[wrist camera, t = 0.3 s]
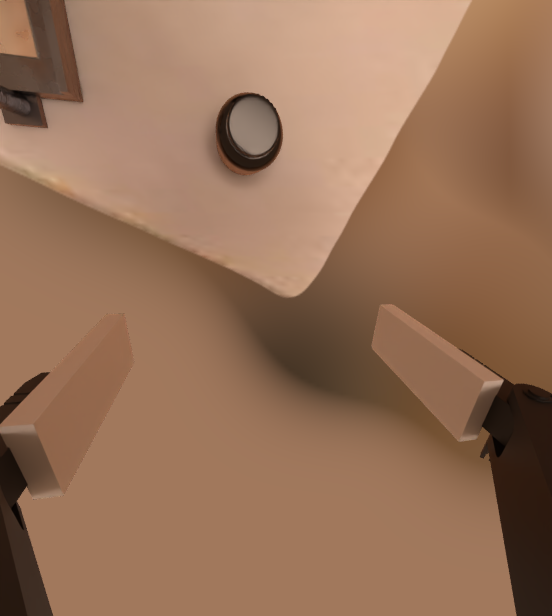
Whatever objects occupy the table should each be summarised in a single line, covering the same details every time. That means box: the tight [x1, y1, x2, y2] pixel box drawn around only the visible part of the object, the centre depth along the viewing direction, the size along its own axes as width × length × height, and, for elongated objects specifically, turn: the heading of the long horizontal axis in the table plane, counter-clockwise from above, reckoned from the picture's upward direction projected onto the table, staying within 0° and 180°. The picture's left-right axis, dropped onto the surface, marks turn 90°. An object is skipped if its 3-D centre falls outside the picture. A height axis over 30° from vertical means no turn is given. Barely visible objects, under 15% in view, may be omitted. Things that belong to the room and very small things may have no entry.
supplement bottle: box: [216, 92, 283, 175], centre depth 29 cm, size 7×7×12 cm
